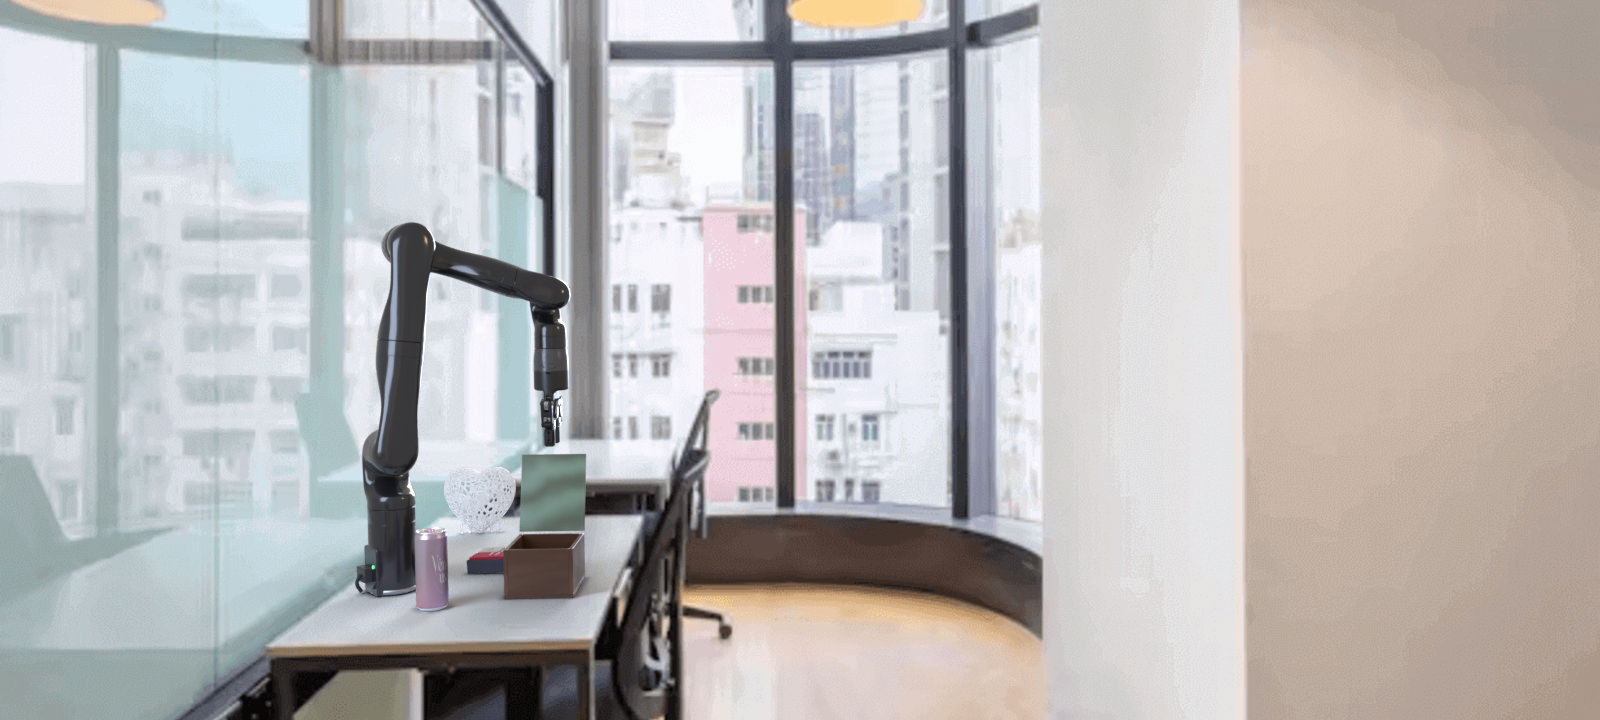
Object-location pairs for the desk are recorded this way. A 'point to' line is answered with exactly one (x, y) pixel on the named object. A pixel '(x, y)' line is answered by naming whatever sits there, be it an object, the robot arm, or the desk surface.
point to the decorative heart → (479, 496)
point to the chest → (544, 566)
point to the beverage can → (431, 569)
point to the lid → (553, 492)
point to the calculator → (486, 561)
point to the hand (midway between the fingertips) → (552, 444)
